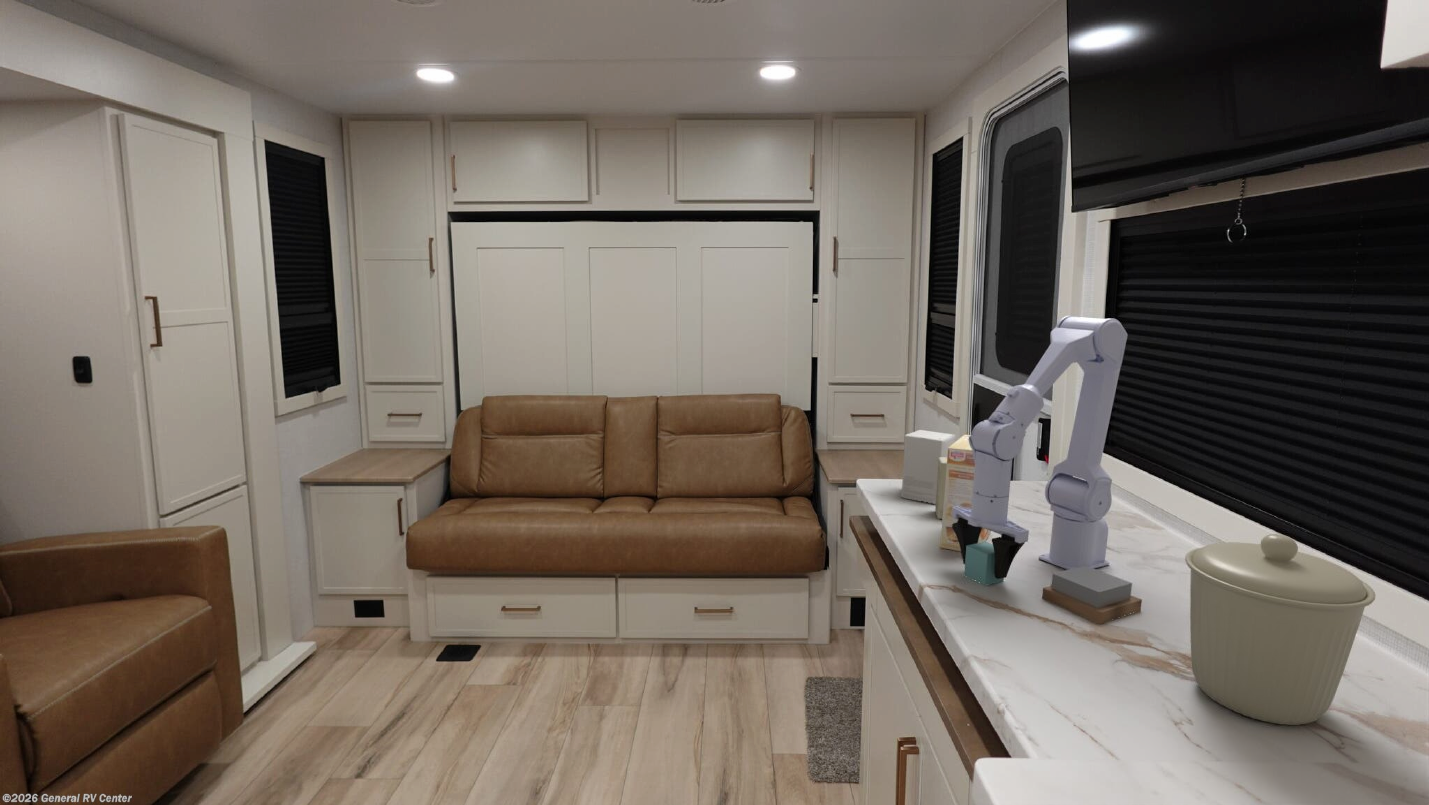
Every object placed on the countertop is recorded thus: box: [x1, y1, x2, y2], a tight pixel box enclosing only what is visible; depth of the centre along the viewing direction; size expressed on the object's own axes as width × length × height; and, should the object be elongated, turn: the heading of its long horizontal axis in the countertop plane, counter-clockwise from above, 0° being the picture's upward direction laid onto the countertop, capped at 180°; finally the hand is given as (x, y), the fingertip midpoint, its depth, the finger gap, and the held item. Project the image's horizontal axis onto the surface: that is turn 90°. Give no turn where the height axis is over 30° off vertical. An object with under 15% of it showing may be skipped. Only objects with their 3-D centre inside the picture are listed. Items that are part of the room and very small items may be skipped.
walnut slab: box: [1041, 585, 1143, 625], centre depth 119 cm, size 10×10×2 cm
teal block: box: [963, 541, 1005, 586], centre depth 128 cm, size 4×4×6 cm
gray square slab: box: [1050, 565, 1133, 608], centre depth 118 cm, size 8×8×2 cm
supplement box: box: [901, 429, 957, 505], centre depth 174 cm, size 9×9×15 cm
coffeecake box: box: [939, 434, 992, 553], centre depth 145 cm, size 15×7×20 cm, turn 150°
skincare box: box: [934, 457, 947, 520], centre depth 161 cm, size 6×4×12 cm
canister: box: [1184, 533, 1376, 726], centre depth 90 cm, size 18×18×21 cm
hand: (984, 570), depth 128 cm, fingers open, 6 cm apart
